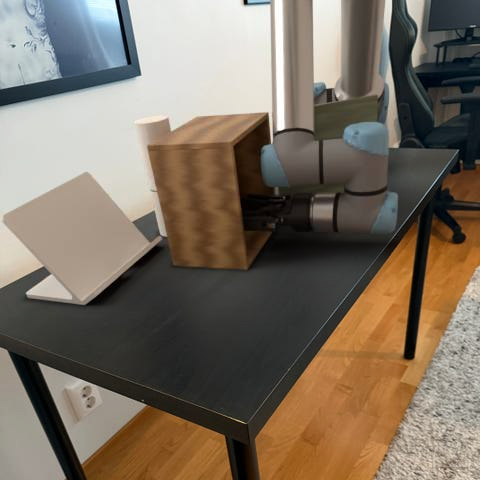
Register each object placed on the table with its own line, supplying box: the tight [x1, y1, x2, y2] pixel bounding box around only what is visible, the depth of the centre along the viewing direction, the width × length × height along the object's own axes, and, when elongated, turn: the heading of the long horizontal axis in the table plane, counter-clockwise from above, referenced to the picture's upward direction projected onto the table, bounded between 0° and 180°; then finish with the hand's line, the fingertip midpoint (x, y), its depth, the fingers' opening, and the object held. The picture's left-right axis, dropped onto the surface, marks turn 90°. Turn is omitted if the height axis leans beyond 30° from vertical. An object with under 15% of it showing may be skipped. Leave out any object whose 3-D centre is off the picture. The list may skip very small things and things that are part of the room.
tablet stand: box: [0, 171, 163, 306], centre depth 95 cm, size 18×25×17 cm
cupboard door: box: [277, 95, 378, 198], centre depth 105 cm, size 6×22×24 cm, turn 100°
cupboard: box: [147, 111, 277, 271], centre depth 96 cm, size 16×22×24 cm
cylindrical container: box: [134, 114, 172, 237], centre depth 106 cm, size 7×7×25 cm
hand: (205, 211), depth 100 cm, fingers open, 6 cm apart
